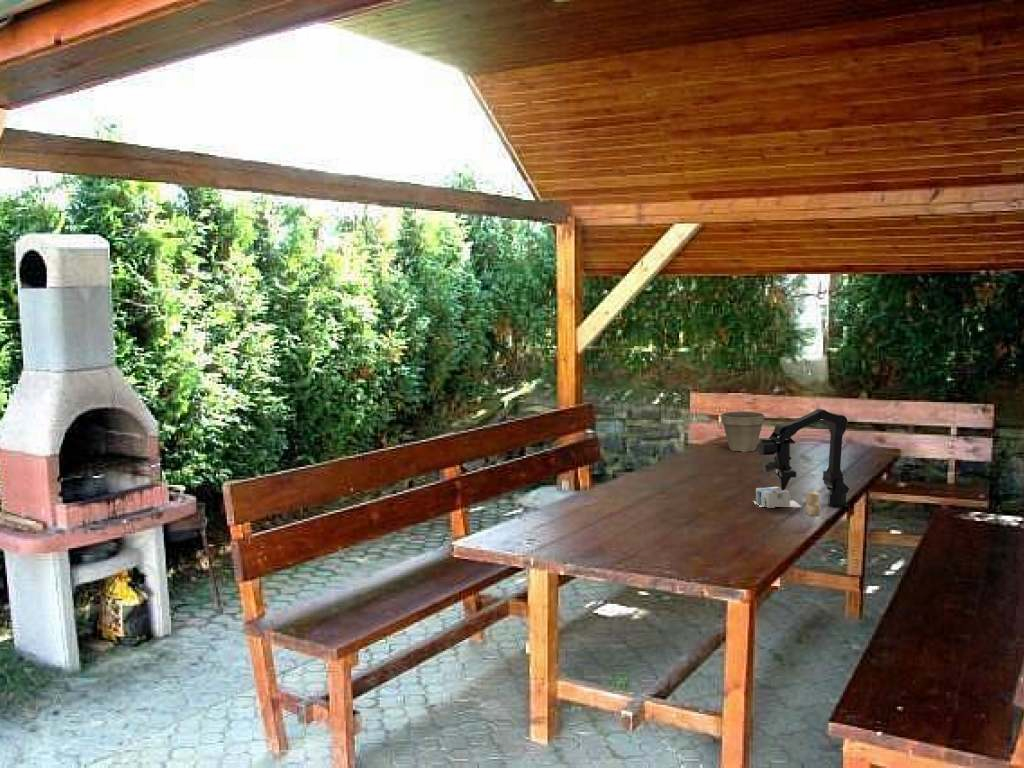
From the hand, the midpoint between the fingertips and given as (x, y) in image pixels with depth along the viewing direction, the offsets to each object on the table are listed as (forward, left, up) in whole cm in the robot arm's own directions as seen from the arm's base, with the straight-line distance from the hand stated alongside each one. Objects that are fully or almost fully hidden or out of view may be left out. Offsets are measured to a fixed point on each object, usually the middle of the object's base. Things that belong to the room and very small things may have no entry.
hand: (782, 490), depth 385 cm
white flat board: (0, -9, -8) cm, 12 cm away
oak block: (-10, +10, -8) cm, 16 cm away
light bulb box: (+1, -2, -5) cm, 5 cm away
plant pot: (-19, -150, -8) cm, 152 cm away
